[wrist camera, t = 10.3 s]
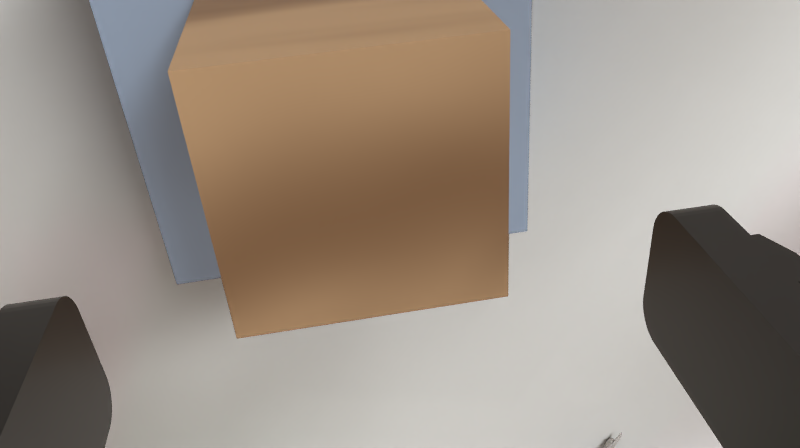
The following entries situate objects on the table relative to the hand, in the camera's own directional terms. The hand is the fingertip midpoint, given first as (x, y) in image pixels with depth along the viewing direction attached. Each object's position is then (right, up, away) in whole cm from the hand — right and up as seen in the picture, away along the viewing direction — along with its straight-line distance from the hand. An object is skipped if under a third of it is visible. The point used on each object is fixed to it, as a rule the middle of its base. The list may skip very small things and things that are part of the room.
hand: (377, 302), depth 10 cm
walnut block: (-1, +4, +7) cm, 9 cm away
